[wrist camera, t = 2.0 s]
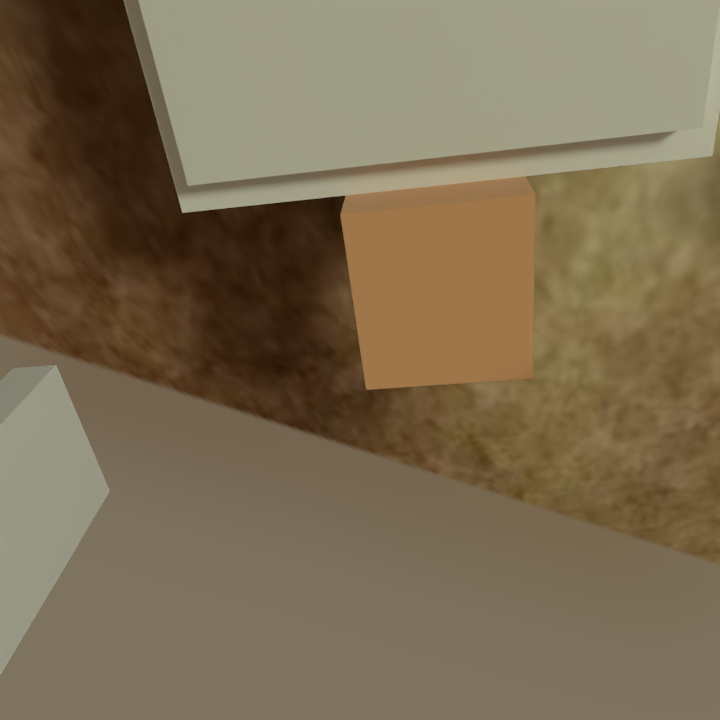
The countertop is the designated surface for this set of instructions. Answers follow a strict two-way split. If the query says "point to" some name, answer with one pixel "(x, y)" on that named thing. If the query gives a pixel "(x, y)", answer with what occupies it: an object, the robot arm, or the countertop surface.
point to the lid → (426, 140)
